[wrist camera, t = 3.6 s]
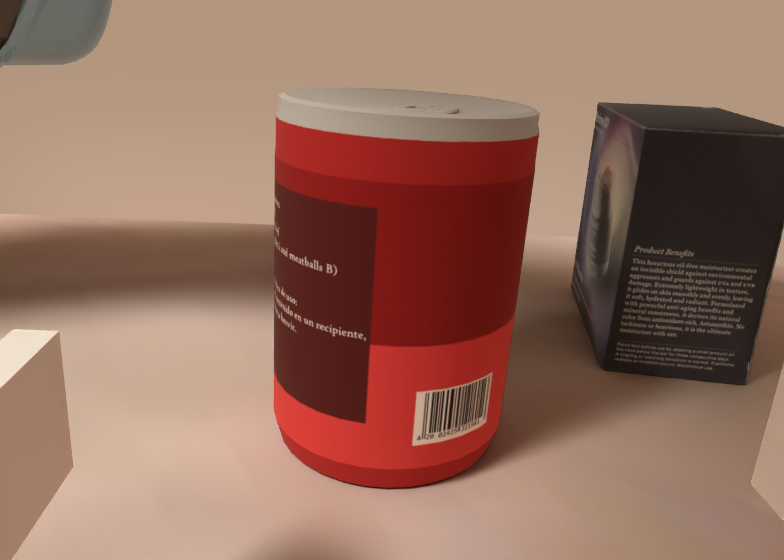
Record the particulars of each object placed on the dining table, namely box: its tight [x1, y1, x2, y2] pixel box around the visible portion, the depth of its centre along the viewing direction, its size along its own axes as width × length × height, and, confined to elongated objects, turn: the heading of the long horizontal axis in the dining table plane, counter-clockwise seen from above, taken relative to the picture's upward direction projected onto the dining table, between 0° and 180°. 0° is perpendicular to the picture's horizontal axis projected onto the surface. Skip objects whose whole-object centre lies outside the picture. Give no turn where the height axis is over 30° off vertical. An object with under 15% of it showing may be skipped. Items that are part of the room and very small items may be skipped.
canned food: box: [274, 88, 540, 488], centre depth 22 cm, size 8×8×11 cm
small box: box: [571, 102, 784, 385], centre depth 32 cm, size 11×6×10 cm, turn 174°
